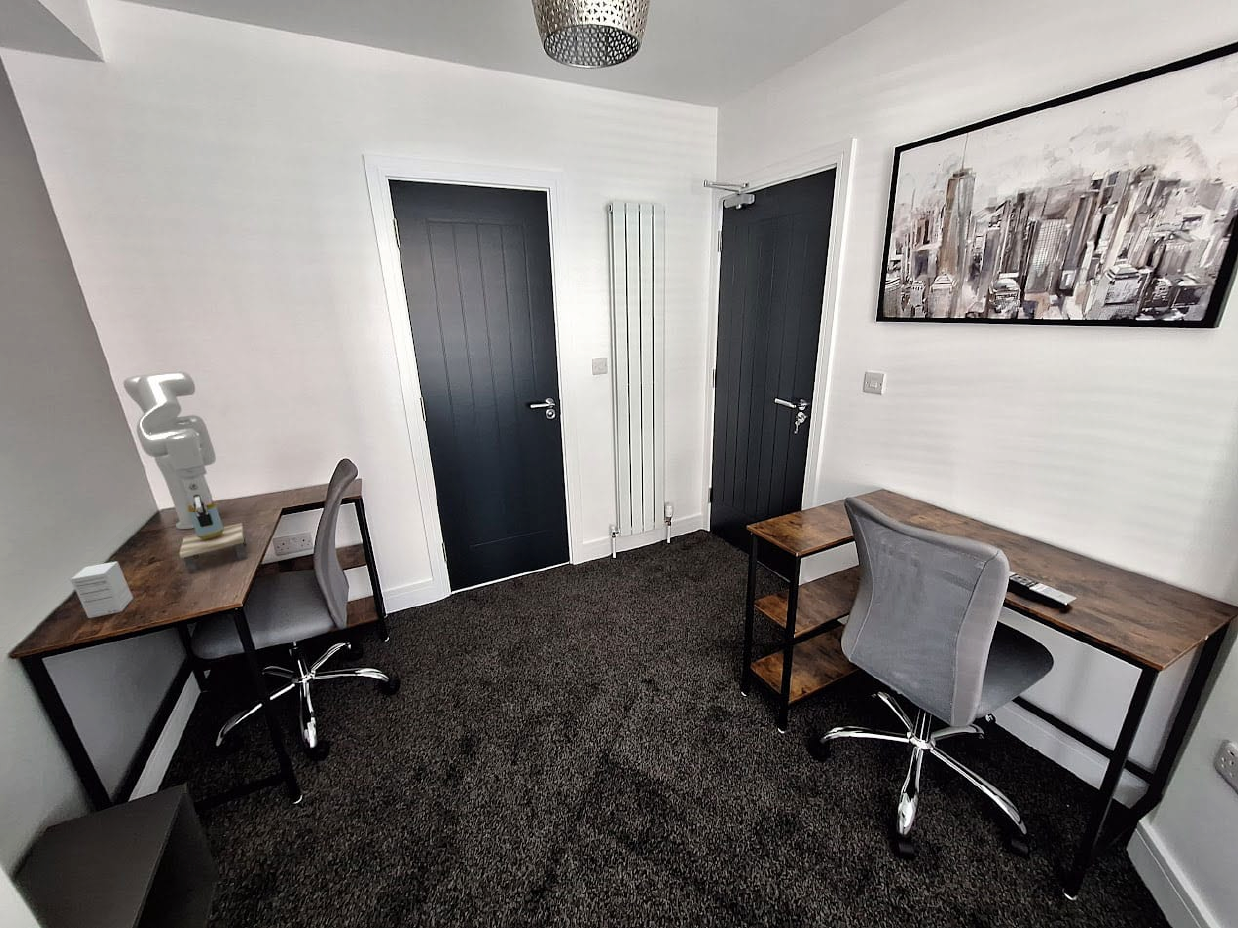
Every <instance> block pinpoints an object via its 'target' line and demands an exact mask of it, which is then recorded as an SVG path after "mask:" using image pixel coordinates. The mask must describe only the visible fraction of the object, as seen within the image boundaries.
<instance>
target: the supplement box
mask: <svg viewBox="0 0 1238 928" xmlns="http://www.w3.org/2000/svg"><path fill="white" fill-rule="evenodd" d="M69 580H70V581H71V584H72V586H73V588H74V590H75V592H76V595H77V597H78V599H79V601H80V603H81V606H82V608H83V610H84V611H85V614H86V616H87V618H88V619H92V618H97V617H101V616H106V615H111V614H116V613H121V612H122V611H123V610H124V609H126V606H128V605H129V603H130V602H131V601H132V600H133V599H134V597H133V595H132V591H131V590H130V588H129V585H128V582H127V580H126V579H125V575H124V573H123V571H122V569H121V566H120V563H119V562H118V561H110V562H106V563H101V564H95V565H89V566H85V567H83V568H82V569H81V570H79V571H78V572H77V573H76V574H75V575H74V576H72V578H70V579H69Z"/></svg>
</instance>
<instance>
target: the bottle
mask: <svg viewBox="0 0 1238 928" xmlns="http://www.w3.org/2000/svg"><path fill="white" fill-rule="evenodd" d="M210 493H211V491H209V494H210ZM211 495H212V493H211V494H210V497H211ZM185 497H186V500H187V502H188V505H189V506H188V510H189V514H190V517H191V520H192V522H193V525H194V528H193V529H194V530H195V534H197V536H198V537H199V538H202V539H206V538H211V537H215V536H218V535H220V534H221V533H222V532H223V530H224V529H223V527H224V525H223V522H222V520H221V517H220V514H219V509H218V508H217V504H216V502H215V501H214V500H213V496H212V497H211V500H212V503H211V504H210V505H207V509H208V513H210V516H211V519H212V522H213V525H210V526H206V527H201V526H200V524H199V521H198V518H197V513H196V509H195V508H192V506H191V504H190V501H189V499H188V496H187V494H186V495H185ZM201 505H204V504H203V503H202V504H201ZM202 508H204V507H202ZM204 509H205V508H204Z"/></svg>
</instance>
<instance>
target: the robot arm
mask: <svg viewBox="0 0 1238 928" xmlns="http://www.w3.org/2000/svg"><path fill="white" fill-rule="evenodd" d="M123 387H124V390H125V392H126V393H127V394H128V396H129V397H130V398H131V399H132V400H133V401H134V402H135V403H136V404H137V405H138V406H139V408H140V409H141V410H142V413H143V414H142V415H141V416H140V418H139V420H138V422H137V425H136V434H137V437H138V439H139V442H140V445H141V447H142V450H143V452H145V454H146V455H147V456H149V457H151V458H154V461H155V464H156V465H157V467H158V469H159V471H160V473H161V475H162V476H163V478H164V480H165V483H166V485H167V486H166V487H167V488H168V491H169V494H170V497H171V499H172V503H173V505H174V508H175V511H176V513H177V516H178V519H179V521H178V522H177V523H176V524H175V527H176V529H178V530H190V529H195V528H194V525H193V522H192V520H191V517H190V514H189V510H188V506H189V505H188V502H187V500H186V497H185V495H186V494H187V496H188V499H189V501H190V504H191V506H192V508H195V509H196V513H197V518H198V521H199V524H200V526H201V527H206V526H210V525H213V522H212V519H211V516H210V513H208V509H207V505H210V504H211V503H212V500H213V499H212V500H211V497H212V498H213V495H212V493H211V491H210V488H209V485H208V483H207V480H206V478H205V477H206V476H205V475H207V474H208V471H207V469H206V466H211V465H213V464H215V462H216V460H217V457H216V453H215V450H214V449H215V448H214V446H213V443H212V439H211V437H210V434H209V431H208V428H207V425H206V423H205V422H204V421H205V420H204V419H203V418H202V417H200V416H199V415H195V414H191V415H190V414H189V415H184V416H180V414H181V413H182V406H181V404H180V402H179V400H178V397H184V396H185V397H186V396H191V395H192V396H193V395H194V394H195V392H196V385H195V382H194V380H193V378H192V377H191V376H190V374H188V373H187V372H185V371H169V372H162V373H161V372H160V373H149V374H148V373H147V374H141V375H134V376H130V377H127V378H125V379H124V380H123ZM209 491H210V494H211V497H210V494H209ZM202 503H203V504H204V505H201V504H202ZM202 507H204V508H205V509H204V508H202Z"/></svg>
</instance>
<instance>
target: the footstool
mask: <svg viewBox="0 0 1238 928" xmlns="http://www.w3.org/2000/svg"><path fill="white" fill-rule="evenodd" d="M223 529H224V530H223V532H222V533H221V534H220V535H218V536H215V537H211V538H206V539H202V538H199V537H198V536H197V534H196V533H194V534H193V533H192V534H190V535H185V536H183V538H182V543H181V547H180V549H179V555H180V558H181V559H183V561H184V563H185V566H186V568H187V571H188V574H193V573H197V572H198V566H197V564H196V561H195V558H200V557H201V554H202V553H206V552H211V551H215V550H219V549H223V548H227V547H231V546H234V547H235V548H234V549H235V551H236V553H237V557H238V559H239V561H242V560H246V559H247V553H246V549H245V546H246V545H247V541H246V538H245V535H244V525H243V523H242V522H241V523H236V524H232V525H228V526H223Z"/></svg>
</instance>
